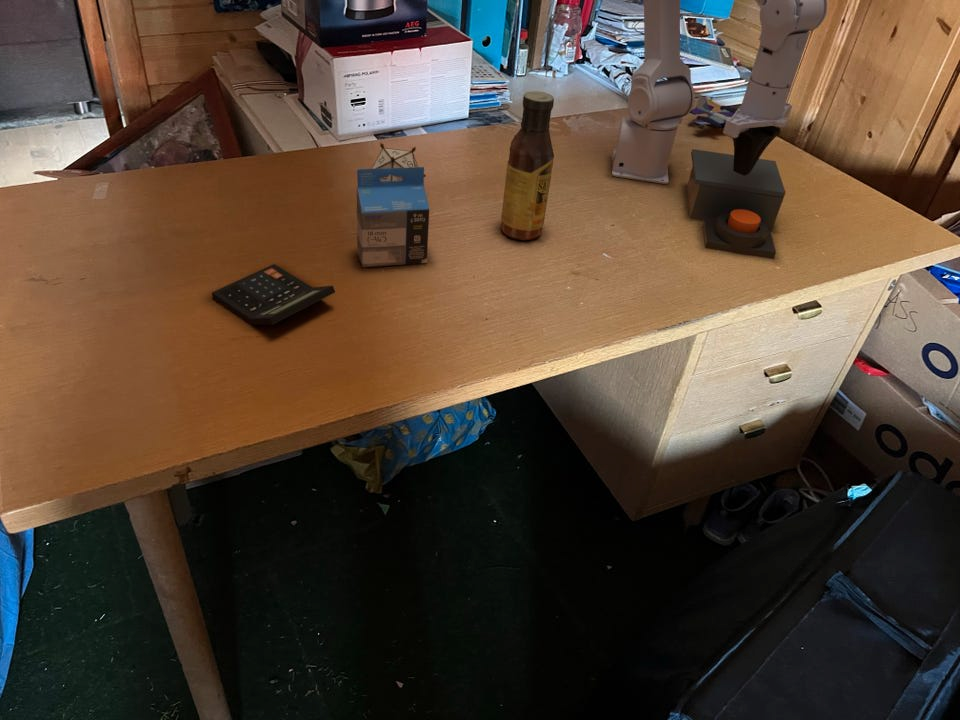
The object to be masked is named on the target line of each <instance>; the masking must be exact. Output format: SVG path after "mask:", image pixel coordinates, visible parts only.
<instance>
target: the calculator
mask: <svg viewBox="0 0 960 720" xmlns="http://www.w3.org/2000/svg"><path fill="white" fill-rule="evenodd" d="M335 293H336V290H335V287H334V285H325V286H315V287H314V286H313V287H312V286H311V285H309V284H308V283H306V282H304V280H301V279H300V278H298V277H297V276H295V275H293V274H291V273H290V272H288V271H287V270H285V269H283V268H282V267H280V266H278V265H277V264H275V263H273V264H271V265H269V266H266V267H264V268H262V269H260V270H258V271H256V272H253V273H251V274H248V275H246V276H244V277H243V278H240V279H238V280H236V281H234V282H232V283H230V284H227V285H225V286H223V287H221V288H218V289H216V290H214V291H212V292H211V296H212V300H214V301H216V302H217V303H219V304H220V305H222V306H223V307H224V308H226V309H228V310H229V311H231V312H232V313H234V314H235V315H237V316H238V317H239V318H240V319H242V320H244V321H245V322H246V323H248V324H249V325H250V326H253V325H254V326H259V325H260V326H273V325H276V324H278V323H279V322H281V321H283V320H285V319H286V318H289V317H291V316H293V315H294V314H296V313H299V312H300V311H302V310H304V309H306V308H308V307H310V306H312V305H314V304H316V303H317V302H320V301H322V300H324V299H325V298H328V297H329V296H331V295H333V294H335Z"/></svg>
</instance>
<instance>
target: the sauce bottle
mask: <svg viewBox="0 0 960 720" xmlns="http://www.w3.org/2000/svg"><path fill="white" fill-rule="evenodd" d="M554 101H555V97H554V96H553V95H552V94H550V93H547V92H545V91H539V90H538V91H537V90H534V91H533V90H532V91H527V92H525V93H523V98H522V108H523V109H522V118H521V122H520V129H519V130H518V131H517V133H516V134H515V135H514V136H513V138H512V140H511V142H510V146H509V155H508V160H507V164H506V173H505V181H504V191H503V199H502V208H501V216H500V217H501V223H500V227H501V228H500V229H501V231H502V232H503V233H504V235H505V236H507V237H509V238H511V239H515V240H521V241H530V240H535V239H537V238H538V237H539V236H540V235H541V233H542V232H543V226H544V224H545V220H546V219H545V218H546V212H547V205H548V199H549V192H550V185H551V179H552V172H553V167H554V159H555V154H554V149H553V144H552V139H551V134H550V127H551V126H550V123H551V115H552V111H553V109H554V104H555V103H554Z"/></svg>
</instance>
